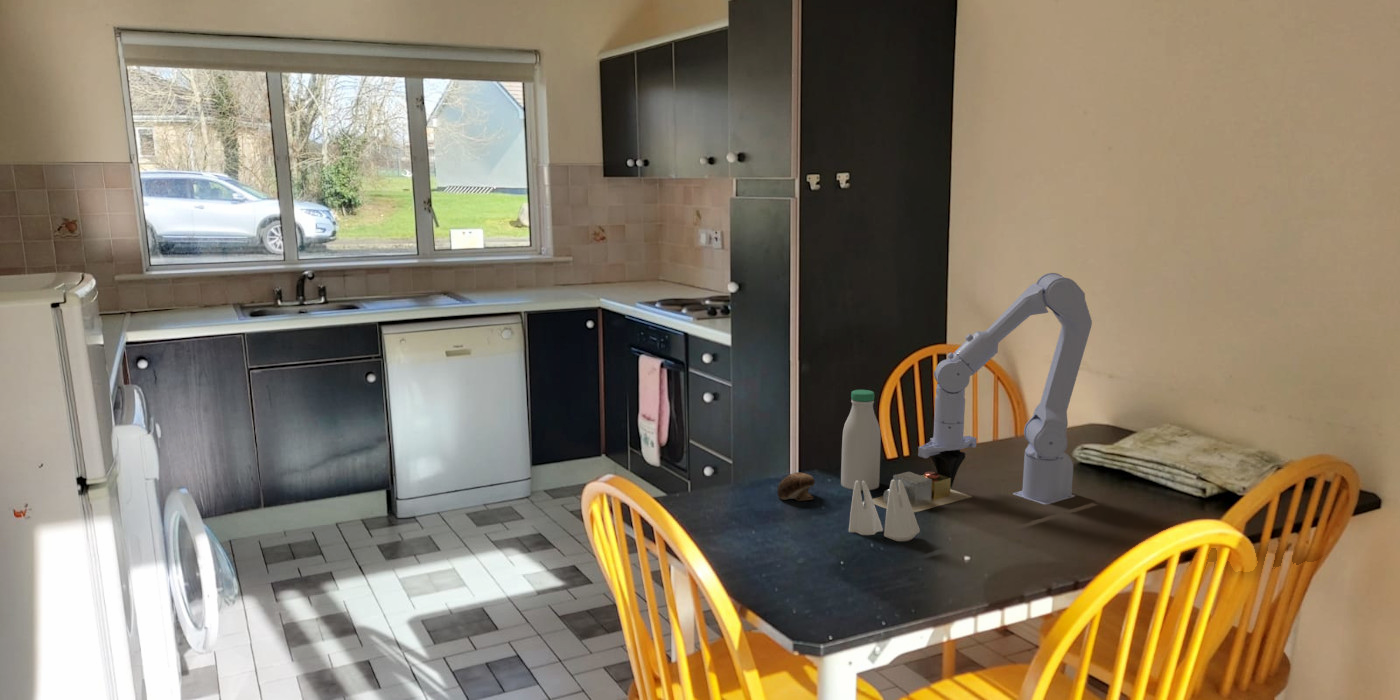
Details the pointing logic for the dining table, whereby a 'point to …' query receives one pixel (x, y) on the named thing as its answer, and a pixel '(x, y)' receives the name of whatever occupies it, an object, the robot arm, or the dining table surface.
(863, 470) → the milk bottle
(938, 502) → the board
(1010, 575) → the dining table surface
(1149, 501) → the dining table surface
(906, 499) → the salt and pepper shakers
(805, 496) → the mushroom
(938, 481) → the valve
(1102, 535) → the dining table surface
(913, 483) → the grey rectangular block
